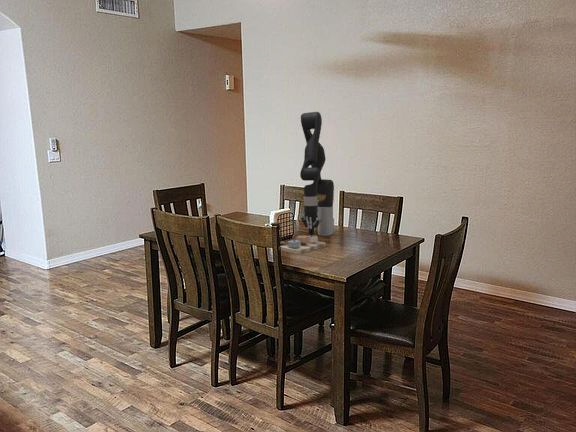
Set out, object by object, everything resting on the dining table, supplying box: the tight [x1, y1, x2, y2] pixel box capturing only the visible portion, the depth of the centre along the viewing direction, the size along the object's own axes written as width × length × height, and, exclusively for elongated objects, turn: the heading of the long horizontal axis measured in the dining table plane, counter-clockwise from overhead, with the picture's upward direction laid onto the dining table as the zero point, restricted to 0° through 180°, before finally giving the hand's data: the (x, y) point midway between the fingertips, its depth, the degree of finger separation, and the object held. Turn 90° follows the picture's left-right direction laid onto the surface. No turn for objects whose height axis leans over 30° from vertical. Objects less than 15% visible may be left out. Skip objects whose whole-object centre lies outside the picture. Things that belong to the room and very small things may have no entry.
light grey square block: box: [308, 234, 319, 243], centre depth 275 cm, size 5×5×3 cm
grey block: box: [287, 239, 301, 248], centre depth 265 cm, size 5×5×3 cm
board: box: [280, 240, 327, 255], centre depth 270 cm, size 22×14×4 cm, turn 138°
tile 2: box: [295, 234, 309, 243], centre depth 270 cm, size 5×5×3 cm
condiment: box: [270, 221, 286, 246], centre depth 281 cm, size 7×8×12 cm
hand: (311, 235), depth 275 cm, fingers closed
